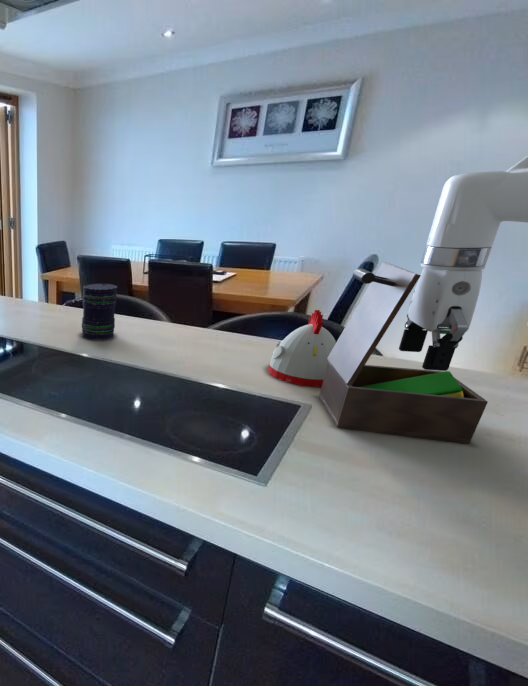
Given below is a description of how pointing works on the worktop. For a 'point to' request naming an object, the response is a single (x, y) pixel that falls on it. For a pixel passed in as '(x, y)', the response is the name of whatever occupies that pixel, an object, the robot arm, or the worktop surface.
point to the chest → (400, 406)
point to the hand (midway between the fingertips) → (421, 359)
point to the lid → (371, 318)
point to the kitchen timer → (303, 354)
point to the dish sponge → (424, 385)
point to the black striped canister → (98, 311)
